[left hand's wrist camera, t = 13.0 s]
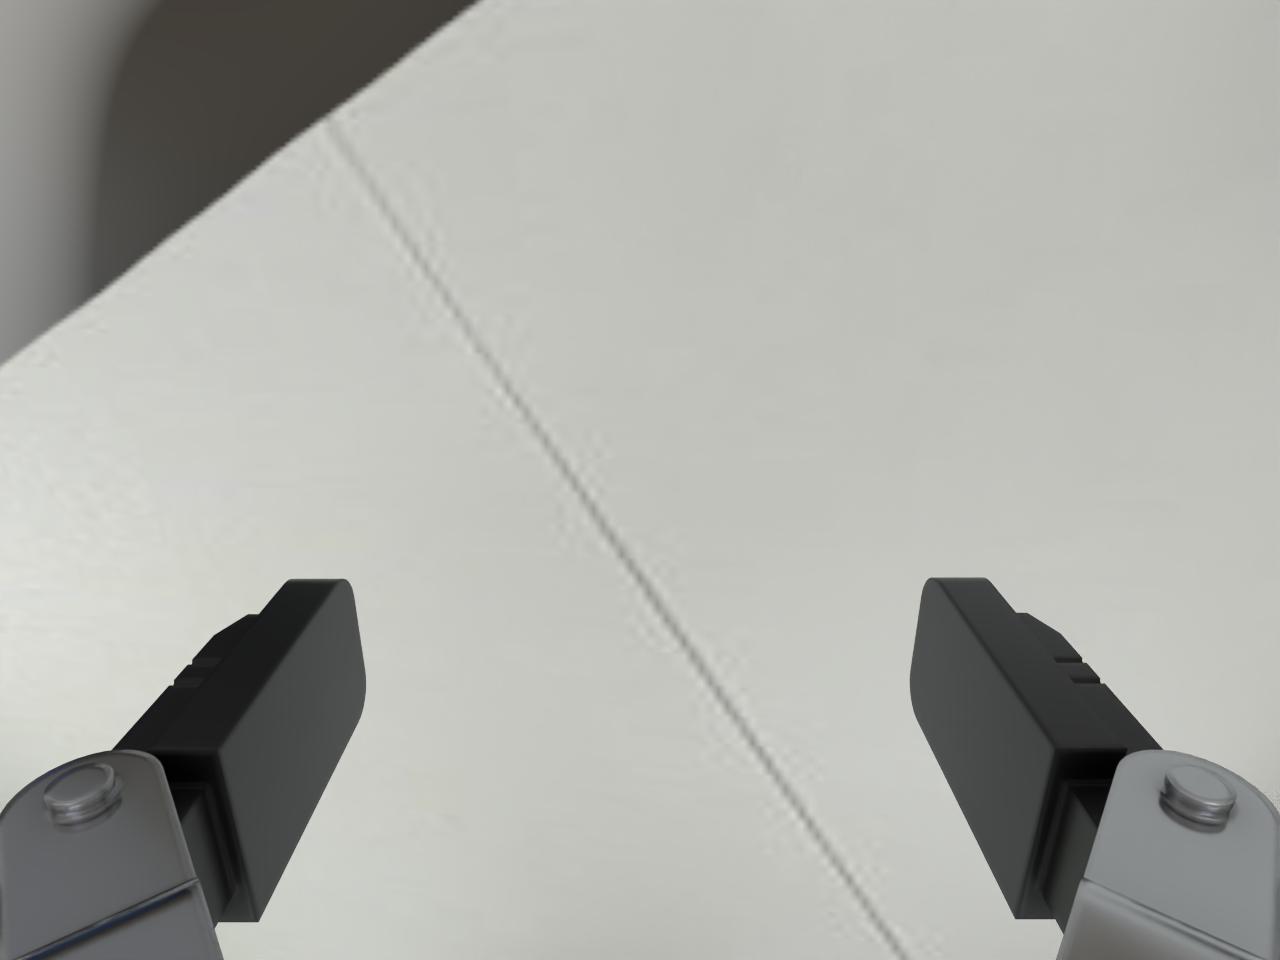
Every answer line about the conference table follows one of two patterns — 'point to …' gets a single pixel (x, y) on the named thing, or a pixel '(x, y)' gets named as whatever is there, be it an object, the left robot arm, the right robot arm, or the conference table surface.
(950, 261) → the conference table surface
